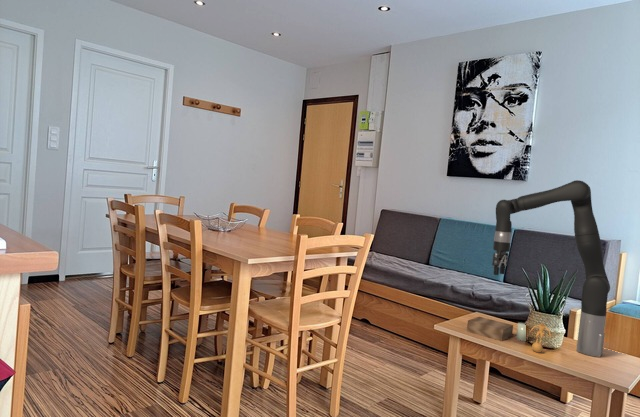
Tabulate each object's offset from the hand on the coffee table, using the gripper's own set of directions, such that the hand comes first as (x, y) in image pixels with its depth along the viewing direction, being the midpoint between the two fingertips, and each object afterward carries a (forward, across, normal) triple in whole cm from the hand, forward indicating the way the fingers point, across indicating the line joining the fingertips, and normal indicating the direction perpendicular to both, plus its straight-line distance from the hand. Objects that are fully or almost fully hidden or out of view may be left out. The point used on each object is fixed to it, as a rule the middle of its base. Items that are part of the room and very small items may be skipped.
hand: (499, 274), depth 218 cm
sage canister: (+27, -6, -15) cm, 31 cm away
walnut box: (+26, -11, -2) cm, 29 cm away
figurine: (+27, -19, -25) cm, 42 cm away
